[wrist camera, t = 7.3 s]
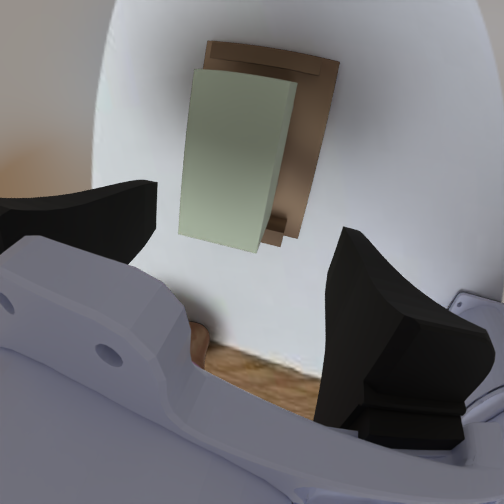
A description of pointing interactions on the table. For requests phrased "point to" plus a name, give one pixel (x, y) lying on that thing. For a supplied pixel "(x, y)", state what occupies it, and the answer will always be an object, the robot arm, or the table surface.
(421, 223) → the table surface
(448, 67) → the table surface
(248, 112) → the pale green block
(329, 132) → the table surface
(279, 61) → the peg frame
